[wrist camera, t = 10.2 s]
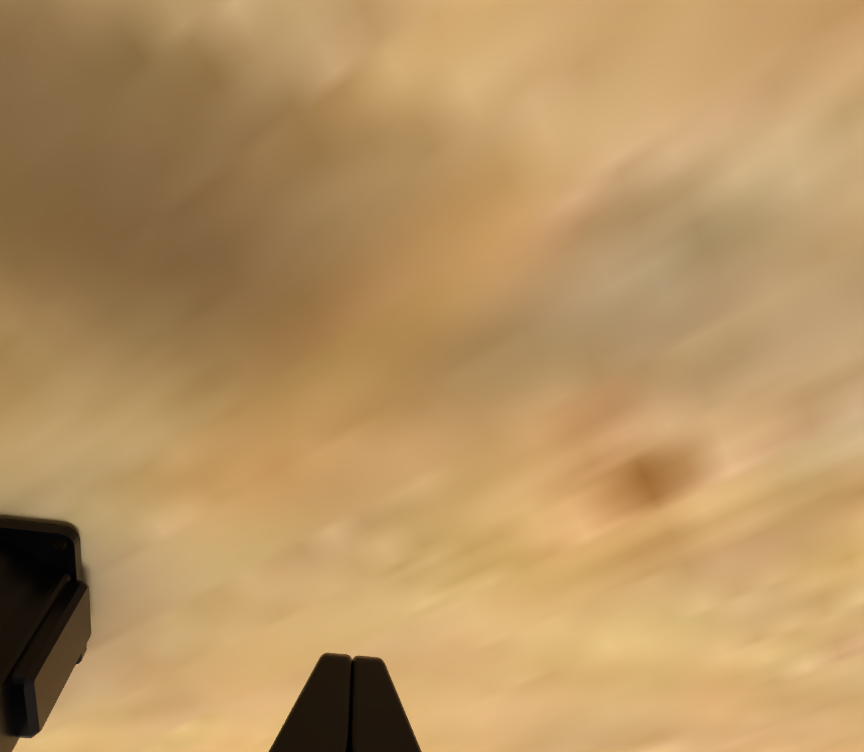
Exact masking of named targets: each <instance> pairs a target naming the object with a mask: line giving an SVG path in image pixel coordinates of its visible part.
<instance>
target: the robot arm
mask: <svg viewBox="0 0 864 752" xmlns="http://www.w3.org/2000/svg"><path fill="white" fill-rule="evenodd" d="M58 539H60V540H63V541H64V542H66V543H64V542H61V541H60V540H58ZM90 635H91V620H90V603H89V587H88V586H87V584H86V582H85V581H82V568H81V551H80V538H79V535H78V533H77V532H76V531H75V530H73V529H72V528H70V527H67V526H61V525H52V524H43V523H33V522H24V521H15V520H5V519H0V752H12V751H13V749H14V747H15V745H16V744H17V742H18V740H19V738H20V737H21V738H32V737H34V736H35V735H36V734H37V733H39V732H40V731H41V730H42V728H43V726H44V724H45V722H46V720H47V718H48V717H49V715H50V713H51V711H52V709H53V707H54V705H55V703H56V701H57V699H58V697H59V695H60V693H61V691H62V690H63V688H64V686H65V684H66V682H67V680H68V678H69V676H70V674H71V672H72V670H73V668H74V666H75V665H76V664H78V663H80V662H81V660H82V658H83V656H84V654H85V652H86V649H87V648H86V643H87V641H88V639H89V637H90ZM269 752H421V749H420V747H419V745H418V742H417V740H416V737H415V735H414V732H413V730H412V728H411V725H410V723H409V720H408V718H407V716H406V713H405V711H404V708H403V706H402V704H401V701H400V699H399V696H398V694H397V692H396V689H395V687H394V684H393V682H392V679H391V677H390V675H389V672H388V670H387V667H386V665H385V663H384V662H383V660H382V659H381V658H378V657H368V656H355V657H354V658H353V659H351V657H350V656H349V655H346V654H335V653H325V654H323V655H322V656H321V657H320V659H319V660H318V662H317V664H316V666H315V668H314V669H313V671H312V673H311V675H310V677H309V679H308V680H307V682H306V684H305V686H304V688H303V690H302V692H301V693H300V695H299V697H298V699H297V701H296V703H295V704H294V706H293V708H292V710H291V712H290V714H289V715H288V717H287V719H286V721H285V723H284V725H283V726H282V728H281V730H280V732H279V734H278V736H277V737H276V739H275V741H274V743H273V745H272V747H271V748H270V750H269Z"/></svg>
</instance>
